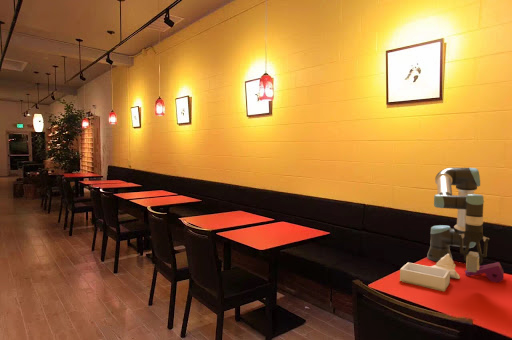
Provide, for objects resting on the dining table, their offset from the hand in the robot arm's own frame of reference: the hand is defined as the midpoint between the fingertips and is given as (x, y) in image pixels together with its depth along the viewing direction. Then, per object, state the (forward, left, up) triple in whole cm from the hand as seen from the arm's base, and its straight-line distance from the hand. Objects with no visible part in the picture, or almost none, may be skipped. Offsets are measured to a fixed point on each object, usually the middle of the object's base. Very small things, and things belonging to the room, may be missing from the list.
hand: (472, 268), depth 170 cm
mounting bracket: (-29, +3, -12) cm, 31 cm away
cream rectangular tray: (+2, -22, -12) cm, 25 cm away
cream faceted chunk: (-17, -15, -12) cm, 26 cm away
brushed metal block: (0, 0, 0) cm, 0 cm away
